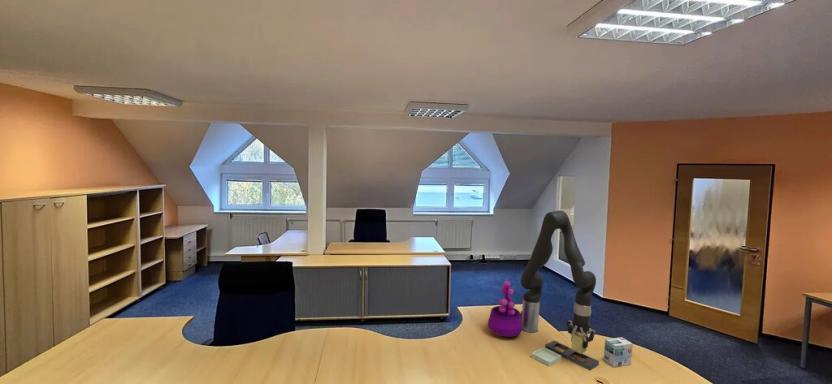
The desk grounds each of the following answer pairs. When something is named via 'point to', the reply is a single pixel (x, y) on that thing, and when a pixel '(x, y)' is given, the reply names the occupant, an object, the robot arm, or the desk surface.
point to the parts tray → (546, 356)
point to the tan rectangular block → (578, 343)
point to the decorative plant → (505, 315)
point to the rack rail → (568, 354)
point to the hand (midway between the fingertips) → (579, 345)
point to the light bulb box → (618, 352)
